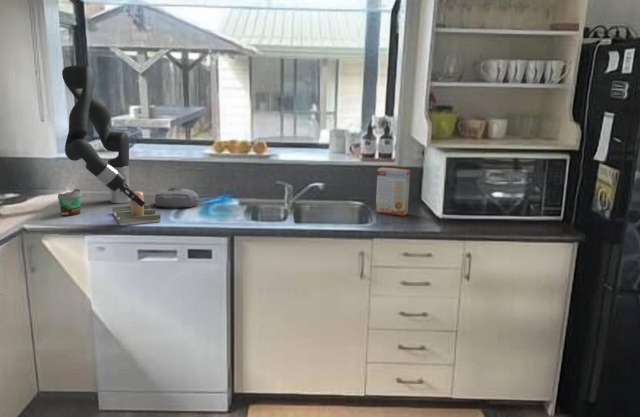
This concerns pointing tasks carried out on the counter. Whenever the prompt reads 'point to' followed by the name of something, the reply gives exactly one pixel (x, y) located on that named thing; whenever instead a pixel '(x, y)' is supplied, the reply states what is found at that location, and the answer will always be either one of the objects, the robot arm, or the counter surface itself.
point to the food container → (70, 203)
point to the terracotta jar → (137, 205)
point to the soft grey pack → (176, 198)
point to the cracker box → (392, 191)
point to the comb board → (125, 216)
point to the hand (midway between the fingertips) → (141, 203)
